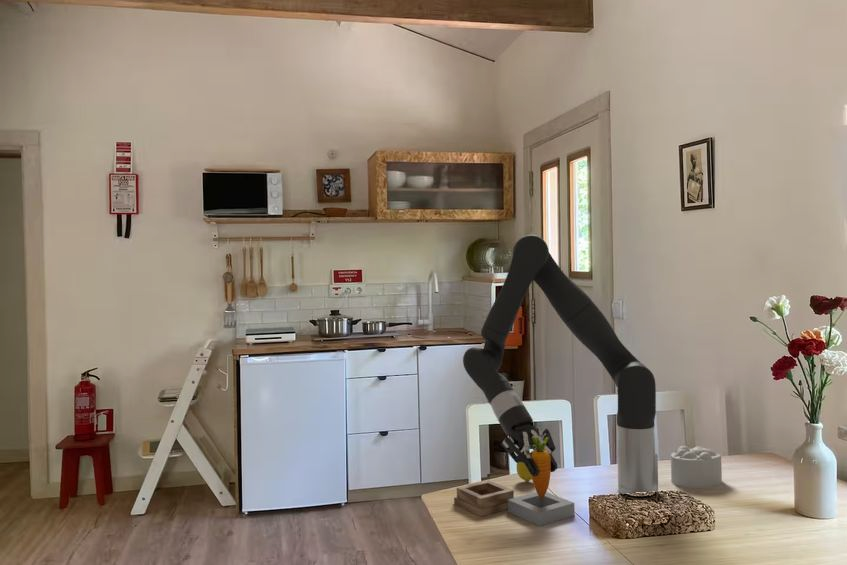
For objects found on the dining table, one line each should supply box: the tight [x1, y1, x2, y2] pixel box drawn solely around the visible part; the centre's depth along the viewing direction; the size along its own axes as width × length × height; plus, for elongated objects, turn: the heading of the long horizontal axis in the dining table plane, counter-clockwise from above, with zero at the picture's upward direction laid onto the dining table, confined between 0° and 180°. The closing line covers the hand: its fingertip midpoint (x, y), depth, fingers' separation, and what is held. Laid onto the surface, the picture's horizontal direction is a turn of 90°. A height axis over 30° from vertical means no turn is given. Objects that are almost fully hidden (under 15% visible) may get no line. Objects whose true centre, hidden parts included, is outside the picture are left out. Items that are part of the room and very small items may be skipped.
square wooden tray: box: [453, 479, 515, 517], centre depth 166 cm, size 11×11×4 cm
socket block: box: [507, 491, 576, 527], centre depth 159 cm, size 11×11×3 cm
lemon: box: [516, 462, 532, 483], centre depth 183 cm, size 6×6×8 cm
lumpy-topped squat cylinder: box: [670, 445, 723, 489], centre depth 180 cm, size 10×13×9 cm
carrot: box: [530, 436, 552, 499], centre depth 159 cm, size 5×5×15 cm
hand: (545, 472), depth 157 cm, fingers closed on carrot, 5 cm apart
